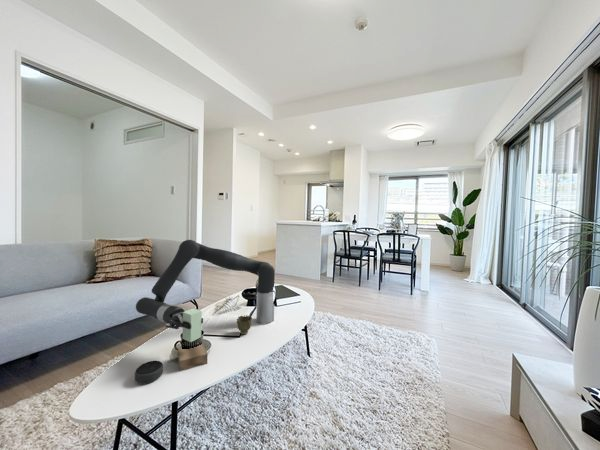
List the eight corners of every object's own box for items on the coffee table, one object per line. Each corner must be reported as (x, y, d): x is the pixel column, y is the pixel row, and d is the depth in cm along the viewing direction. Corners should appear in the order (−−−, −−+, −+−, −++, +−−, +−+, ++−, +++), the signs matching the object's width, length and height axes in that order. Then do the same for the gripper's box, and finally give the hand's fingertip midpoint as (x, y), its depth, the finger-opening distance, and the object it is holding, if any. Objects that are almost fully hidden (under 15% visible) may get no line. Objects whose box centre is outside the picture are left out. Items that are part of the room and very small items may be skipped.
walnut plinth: (202, 351, 107) (203, 342, 107) (207, 363, 98) (207, 353, 98) (177, 357, 102) (177, 348, 102) (179, 371, 93) (180, 361, 93)
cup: (247, 337, 119) (248, 322, 119) (234, 336, 121) (234, 320, 121) (253, 330, 127) (254, 315, 126) (240, 329, 128) (240, 314, 128)
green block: (193, 333, 103) (193, 308, 103) (201, 336, 101) (201, 310, 100) (182, 338, 99) (182, 312, 98) (190, 342, 96) (191, 315, 96)
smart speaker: (143, 389, 84) (143, 377, 83) (129, 379, 88) (129, 369, 88) (168, 374, 91) (168, 364, 91) (154, 366, 96) (154, 356, 96)
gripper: (154, 311, 100) (180, 321, 92) (185, 301, 112) (211, 308, 104) (154, 329, 100) (180, 340, 92) (185, 316, 113) (210, 326, 105)
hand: (196, 323), depth 98 cm, fingers closed on green block, 5 cm apart
